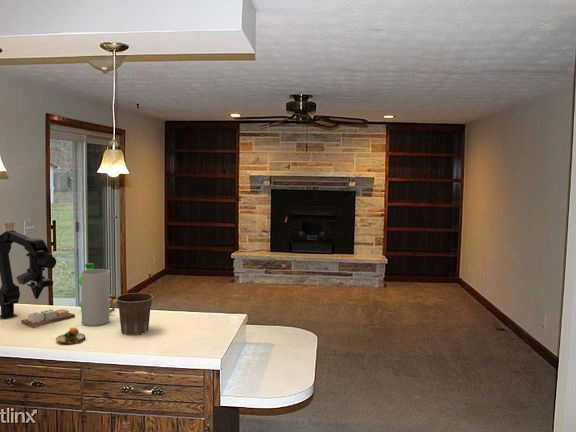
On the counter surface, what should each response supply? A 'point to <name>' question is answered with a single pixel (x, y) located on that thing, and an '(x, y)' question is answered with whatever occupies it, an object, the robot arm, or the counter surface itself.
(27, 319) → the walnut board
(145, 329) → the plant pot
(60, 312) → the tile three pips
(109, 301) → the lion figurine
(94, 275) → the cylinder vase
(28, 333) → the counter surface
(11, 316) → the robot arm
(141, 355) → the counter surface
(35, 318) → the tile one pip
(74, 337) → the mossy decorative centerpiece
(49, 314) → the tile two pips
